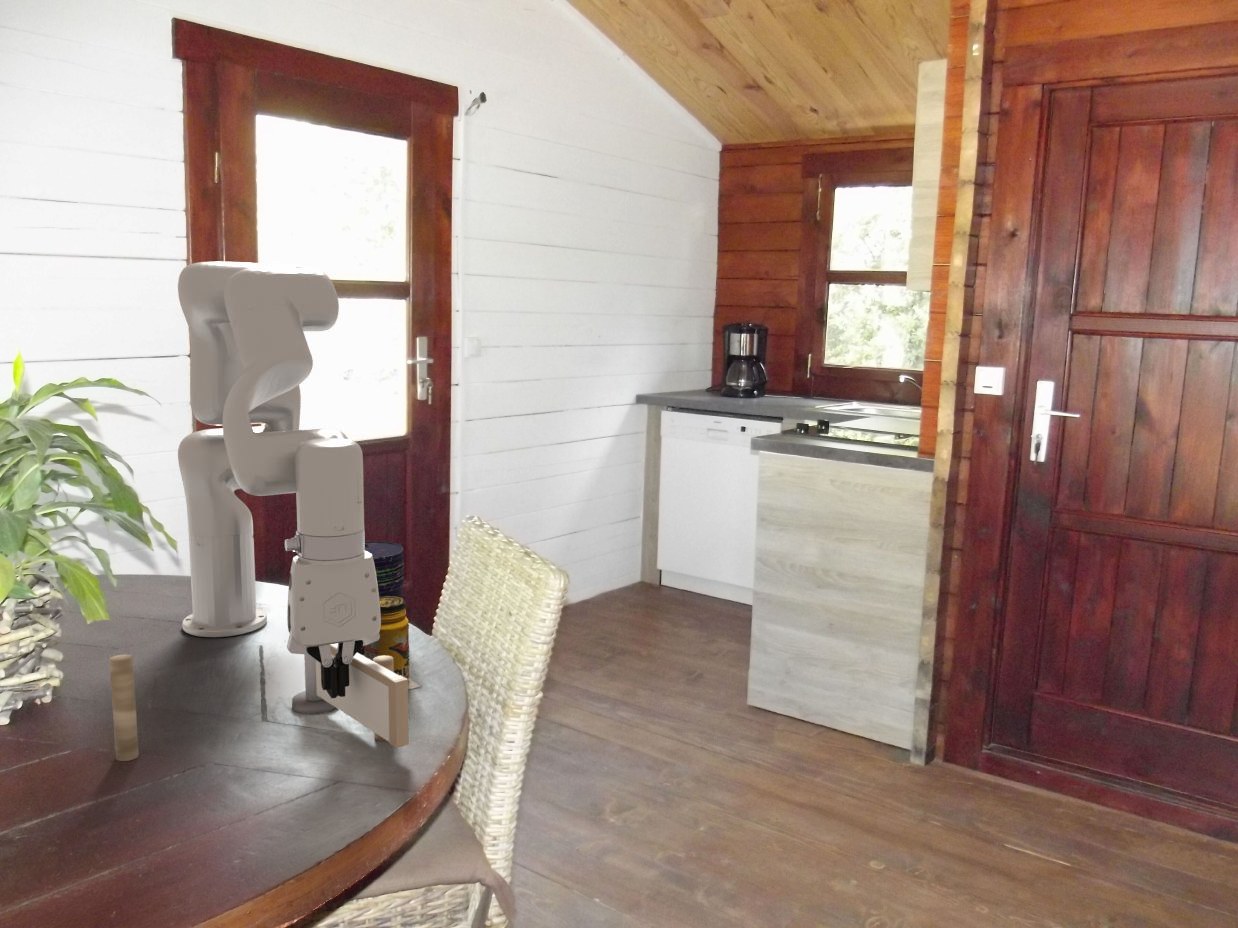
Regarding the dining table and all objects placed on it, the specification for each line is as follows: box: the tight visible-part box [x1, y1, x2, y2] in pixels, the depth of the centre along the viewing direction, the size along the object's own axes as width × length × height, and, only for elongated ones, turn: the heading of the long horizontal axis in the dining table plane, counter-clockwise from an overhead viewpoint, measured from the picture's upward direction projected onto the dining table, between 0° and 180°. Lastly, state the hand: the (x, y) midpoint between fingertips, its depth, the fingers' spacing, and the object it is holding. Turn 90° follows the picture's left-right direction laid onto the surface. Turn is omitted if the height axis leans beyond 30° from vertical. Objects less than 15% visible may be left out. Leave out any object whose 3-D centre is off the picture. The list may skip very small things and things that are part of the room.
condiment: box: [363, 596, 420, 690], centre depth 141 cm, size 7×8×12 cm
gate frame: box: [109, 653, 394, 762], centre depth 122 cm, size 18×28×12 cm, turn 132°
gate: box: [303, 643, 410, 749], centre depth 126 cm, size 23×3×11 cm, turn 43°
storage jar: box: [357, 541, 405, 656], centre depth 156 cm, size 10×10×15 cm
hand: (335, 693), depth 123 cm, fingers closed
